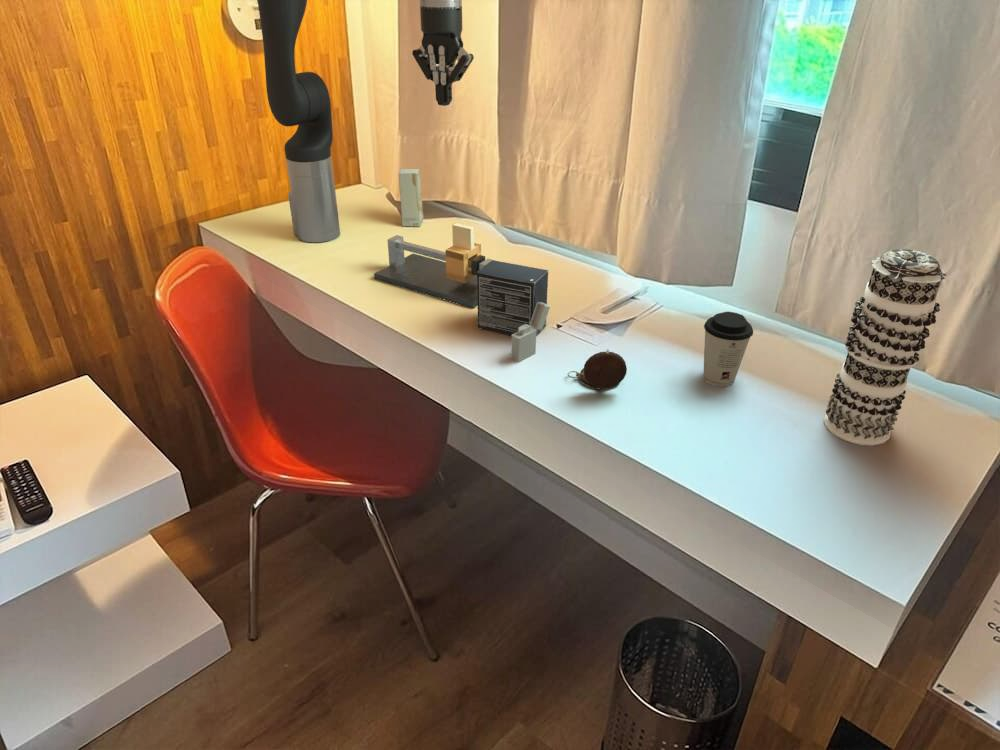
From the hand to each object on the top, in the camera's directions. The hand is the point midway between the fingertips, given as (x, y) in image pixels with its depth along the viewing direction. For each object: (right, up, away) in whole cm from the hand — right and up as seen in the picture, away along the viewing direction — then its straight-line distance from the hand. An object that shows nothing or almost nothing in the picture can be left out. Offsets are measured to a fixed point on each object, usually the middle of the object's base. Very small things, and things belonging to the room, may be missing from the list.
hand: (444, 104), depth 138 cm
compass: (+25, -53, -29) cm, 66 cm away
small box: (+13, -44, -15) cm, 48 cm away
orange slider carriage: (+4, -33, -3) cm, 34 cm away
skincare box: (-9, -17, +28) cm, 34 cm away
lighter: (+15, -48, -22) cm, 55 cm away
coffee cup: (+44, -52, -28) cm, 74 cm away
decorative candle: (+60, -59, -39) cm, 93 cm away
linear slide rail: (-1, -34, 0) cm, 34 cm away
